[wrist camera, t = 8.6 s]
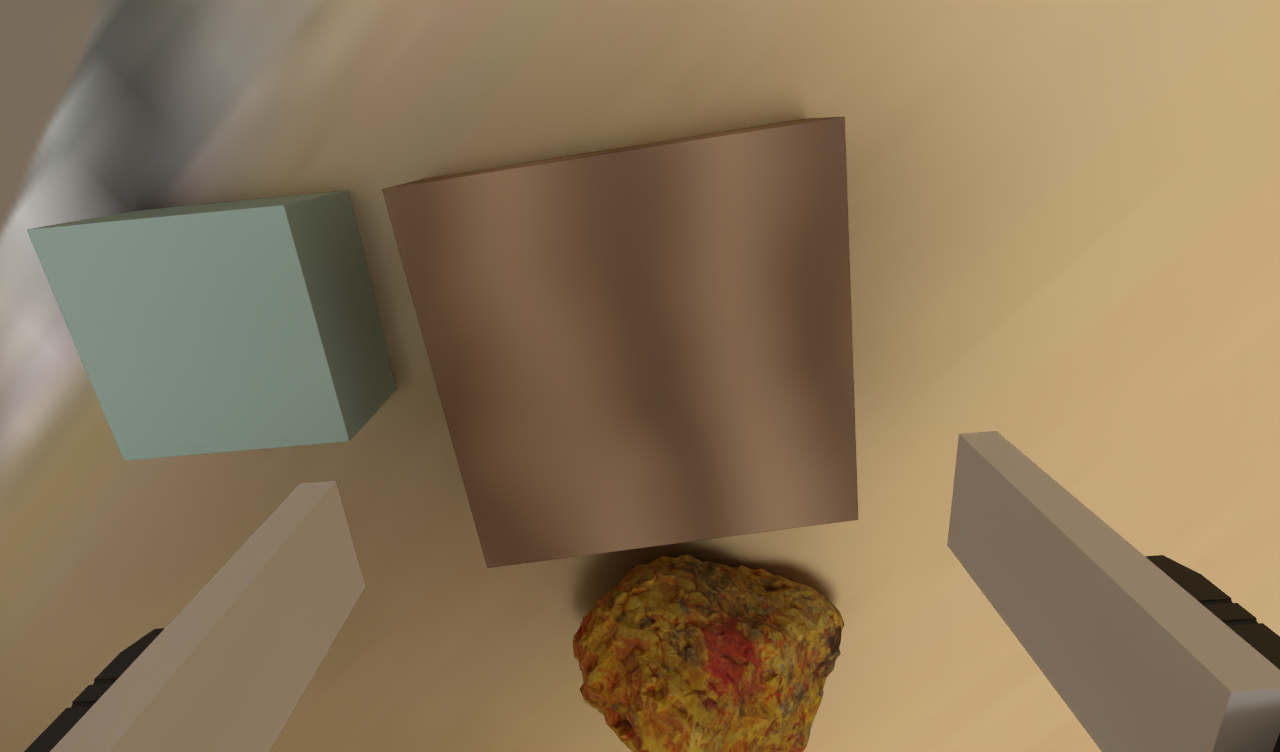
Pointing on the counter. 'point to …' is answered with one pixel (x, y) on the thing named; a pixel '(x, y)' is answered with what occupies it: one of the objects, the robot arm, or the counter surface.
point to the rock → (708, 657)
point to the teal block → (223, 323)
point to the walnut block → (642, 339)
